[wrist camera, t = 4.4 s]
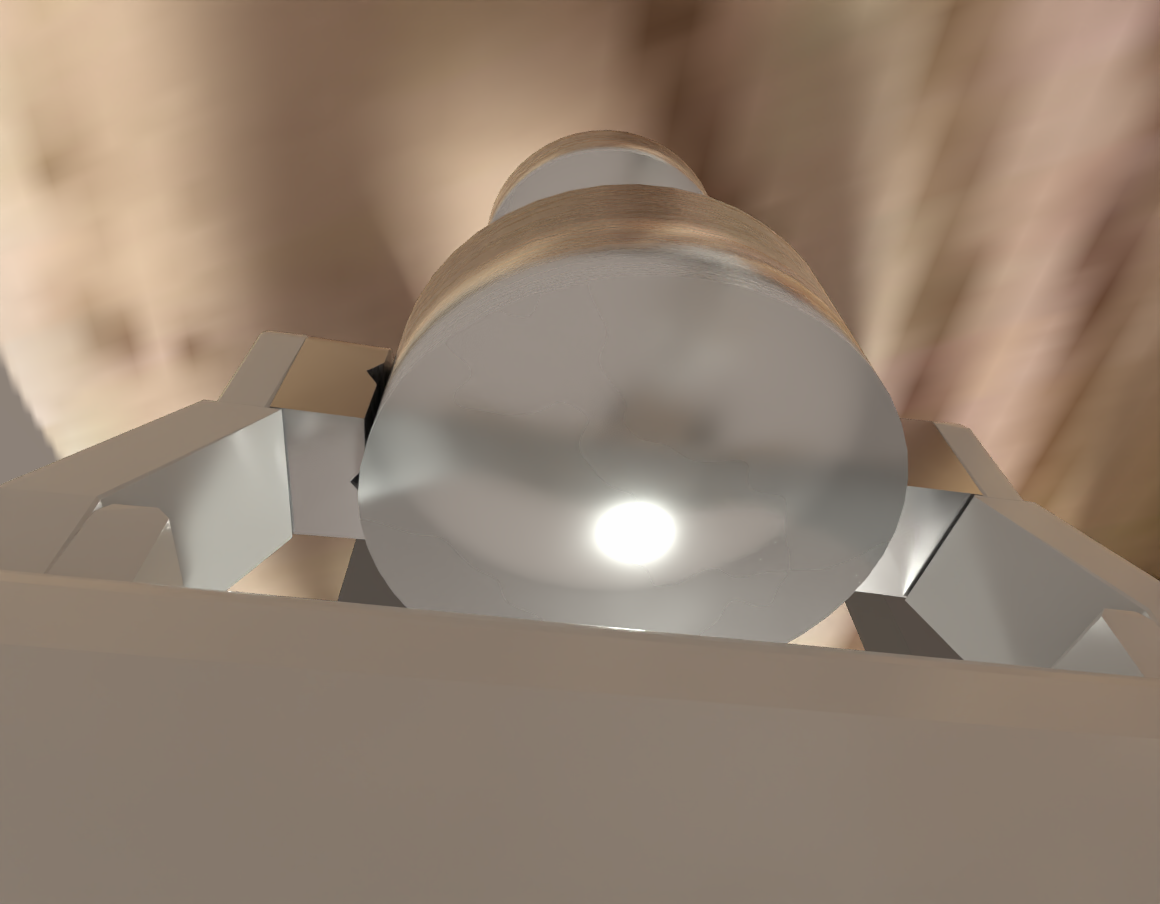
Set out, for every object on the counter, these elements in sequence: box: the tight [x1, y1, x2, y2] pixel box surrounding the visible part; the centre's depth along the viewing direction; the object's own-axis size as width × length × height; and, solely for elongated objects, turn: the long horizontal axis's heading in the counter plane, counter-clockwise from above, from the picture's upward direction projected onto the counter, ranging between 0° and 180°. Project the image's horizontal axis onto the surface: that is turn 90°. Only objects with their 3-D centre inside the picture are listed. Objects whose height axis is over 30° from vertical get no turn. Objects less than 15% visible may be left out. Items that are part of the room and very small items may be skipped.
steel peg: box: [358, 130, 908, 643], centre depth 11 cm, size 6×6×8 cm
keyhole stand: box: [338, 539, 963, 660], centre depth 23 cm, size 18×14×12 cm
